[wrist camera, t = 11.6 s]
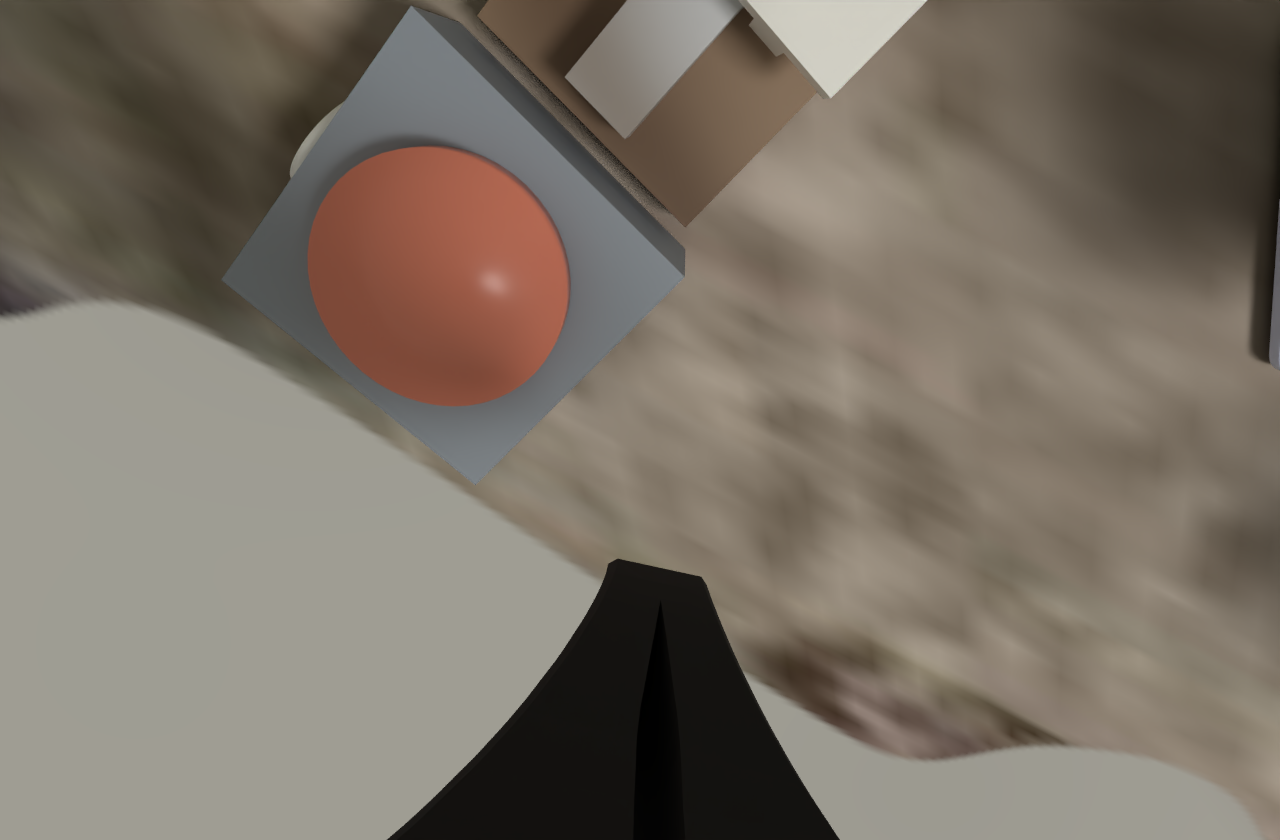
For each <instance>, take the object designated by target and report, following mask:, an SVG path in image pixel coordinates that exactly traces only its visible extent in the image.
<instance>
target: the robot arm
mask: <svg viewBox="0 0 1280 840" xmlns="http://www.w3.org/2000/svg"><path fill="white" fill-rule="evenodd" d="M1269 359H1270V363H1271V364H1272V366H1273V367H1274V368H1276V369H1278V370H1280V201H1279V215H1278V230H1277V245H1276V260H1275V275H1274V290H1273V305H1272V320H1271V334H1270V349H1269ZM387 840H840V839H839V838H838V837H837V835H836V834H835V832H834V830H833V829H832V827H831V826H830V824H829V823H828V821H827V820H826V818H825V817H824V815H823V814H822V812H821V811H820V809H819V808H818V806H817V805H816V803H815V802H814V800H813V799H812V797H811V796H810V794H809V792H808V791H807V789H806V787H805V786H804V784H803V783H802V781H801V779H800V778H799V776H798V774H797V773H796V771H795V769H794V768H793V766H792V764H791V763H790V761H789V759H788V757H787V756H786V754H785V752H784V751H783V748H782V747H781V745H780V743H779V741H778V740H777V738H776V736H775V734H774V733H773V731H772V729H771V727H770V725H769V723H768V721H767V720H766V718H765V716H764V714H763V712H762V710H761V708H760V706H759V704H758V702H757V700H756V698H755V696H754V694H753V692H752V690H751V688H750V686H749V684H748V682H747V680H746V678H745V676H744V674H743V672H742V670H741V668H740V666H739V663H738V661H737V659H736V657H735V655H734V652H733V650H732V648H731V646H730V643H729V641H728V639H727V636H726V634H725V632H724V629H723V627H722V624H721V622H720V619H719V617H718V615H717V612H716V609H715V607H714V604H713V602H712V599H711V596H710V593H709V591H708V588H707V585H706V583H705V582H704V580H703V579H702V577H700V576H695V575H690V574H686V573H681V572H677V571H672V570H667V569H663V568H658V567H653V566H649V565H644V564H640V563H635V562H630V561H626V560H621V559H616V560H614V561H613V562H611V563H609V564H608V567H607V572H606V575H605V578H604V580H603V583H602V585H601V587H600V589H599V592H598V594H597V596H596V598H595V600H594V602H593V603H592V605H591V607H590V608H589V610H588V612H587V614H586V616H585V617H584V619H583V620H582V622H581V624H580V625H579V627H578V628H577V630H576V631H575V633H574V634H573V636H572V637H571V639H570V641H569V642H568V644H567V645H566V647H565V648H564V650H563V651H562V652H561V654H560V655H559V657H558V658H557V660H556V661H555V662H554V663H553V665H552V666H551V668H550V669H549V670H548V671H547V673H546V674H545V675H544V677H543V678H542V679H541V680H540V682H539V683H538V684H537V686H536V687H535V688H534V689H533V691H532V692H531V693H530V695H529V696H528V697H527V699H526V700H525V701H524V702H523V703H522V705H521V706H520V707H519V708H518V710H516V712H515V713H514V714H513V715H512V716H511V718H510V719H509V720H508V721H507V722H506V723H505V724H504V726H503V727H502V728H501V729H500V730H499V731H498V732H497V733H496V734H495V736H494V737H493V738H492V739H491V740H490V741H489V742H488V743H487V744H486V745H485V746H484V748H483V749H482V750H481V751H480V752H479V753H478V754H477V755H476V756H475V757H474V758H473V759H472V760H471V761H470V762H469V763H468V764H467V765H466V766H465V767H464V768H463V769H462V770H461V771H460V772H459V773H458V774H457V775H456V776H455V777H454V778H453V779H452V780H451V781H450V782H449V783H448V784H447V785H446V786H445V787H444V788H443V789H442V790H441V791H440V792H439V793H438V794H437V795H436V796H435V797H434V798H433V799H432V800H431V801H430V802H429V803H428V804H427V805H426V806H424V807H423V808H422V809H421V810H420V811H419V812H418V813H417V814H416V815H415V816H414V817H412V818H411V819H410V820H409V821H408V822H407V823H406V824H405V825H404V826H402V827H401V828H400V829H399V830H398V831H397V832H395V833H394V834H393V835H392V836H391V837H390V838H388V839H387Z"/></svg>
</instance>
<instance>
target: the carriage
mask: <svg viewBox="0 0 1280 840" xmlns="http://www.w3.org/2000/svg"><path fill="white" fill-rule="evenodd" d="M738 1H739V2H740V3H741V4H742V5H743V6H744V8H745V9H746V10H747V11H748V12H749V13H750V15H751V16H752V17H753V18H754V19H753V20H752V21H751V23H750V24H749V26H750V27H751V28H752V30H753V31H754V32H755V33H756V34H757V35H758V37H759V38H760V39H761V40H762V41H763V42H764V43H765V45H766V46H767V47H768V48H769V49H770V50H771V52H772V53H773V54H774V55H775V56H776V57H777V56H779V55H781V54H782V53H784V54H785V55H786V56H787V57H788V59H789V60H790V61H791V62H792V63H793V64H794V66H795V67H796V68H797V69H798V70H799V71H800V73H801V74H802V75H803V76H804V77H805V78H806V80H807V81H808V82H809V83H810V84H811V85H812V86H813V88H814V89H815V90H816V91H817V92H818V93H819V95H820V96H821V97H822V98H823V99H825V98H832V97H833V96H834V95H835V94H836V93H837V92H838V91H839V90H840V89H841V87H842V86H843V85H844V84H845V83H846V82H847V81H848V80H849V79H850V78H851V77H852V76H853V75H854V74H855V73H856V72H857V71H858V70H859V69H860V68H861V67H862V66H863V65H864V64H865V63H866V62H867V61H868V60H869V59H870V58H871V57H872V56H873V55H874V54H875V53H876V52H877V51H878V50H879V49H880V48H881V47H882V46H883V45H884V44H885V43H886V42H887V41H888V40H889V39H890V38H891V37H892V36H893V35H894V34H895V33H896V32H897V31H898V30H899V29H900V28H901V27H902V26H903V25H904V24H905V23H906V22H907V21H908V19H909V18H910V17H911V16H912V15H913V14H914V13H915V12H916V11H917V10H918V9H919V8H920V7H921V6H922V5H923V4H924V3H925V2H926V1H927V0H738Z"/></svg>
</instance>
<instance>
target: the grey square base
mask: <svg viewBox="0 0 1280 840" xmlns="http://www.w3.org/2000/svg"><path fill="white" fill-rule="evenodd" d="M428 145H432V146H448V147H453V148H458V149H463V150H467V151H470V152H472V153H475V154H478V155H481V156H483V157H485V158H487V159H489V160H491V161H494V162H496V163H498V164H499V165H501V166H502V167H504V168H505V169H507V170H508V171H510V172H511V173H513V174H514V175H515V176H516V177H517V178H519V179H520V180H521V181H522V182H523V183H524V184H526V185H527V186H528V187H529V189H530V190H531V191H532V192H533V193H534V194H535V195H536V196H537V197H538V198H539V200H540V201H541V202H542V204H543V205H544V207H545V208H546V209H547V211H548V212H549V214H550V216H551V217H552V219H553V221H554V223H555V225H556V226H557V228H558V231H559V233H560V236H561V238H562V241H563V243H564V246H565V250H566V254H567V258H568V262H569V270H570V277H571V294H570V302H569V309H568V313H567V317H566V320H565V324H564V326H563V329H562V331H561V333H560V335H559V338H558V340H557V342H556V343H555V345H554V347H553V349H552V350H551V352H550V354H549V355H548V357H547V358H546V360H545V362H544V363H543V364H542V365H541V367H540V368H539V369H538V370H537V371H536V372H535V374H534V375H532V376H531V377H530V378H529V379H528V380H527V381H526V382H525V383H523V384H522V385H520V386H519V387H517V388H516V389H514V390H513V391H511V392H510V393H507V394H505V395H503V396H501V397H499V398H497V399H494V400H491V401H488V402H485V403H480V404H474V405H469V406H439V405H433V404H427V403H422V402H419V401H415V400H412V399H409V398H406V397H404V396H401V395H399V394H397V393H395V392H392V391H390V390H389V389H387V388H385V387H383V386H382V385H380V384H378V383H377V382H375V381H374V380H373V379H371V378H370V377H368V376H367V375H366V374H364V373H363V372H362V371H361V370H360V369H359V368H358V367H356V366H355V365H354V364H353V363H352V362H351V361H350V360H349V359H348V358H347V356H346V355H345V354H344V353H343V352H342V351H341V350H340V348H339V347H338V346H337V344H336V343H335V341H334V340H333V339H332V337H331V336H330V334H329V332H328V331H327V329H326V327H325V325H324V323H323V321H322V320H321V317H320V315H319V312H318V310H317V307H316V305H315V302H314V298H313V295H312V291H311V288H310V281H309V275H308V245H309V237H310V233H311V229H312V225H313V221H314V219H315V216H316V214H317V212H318V209H319V207H320V205H321V203H322V202H323V200H324V198H325V197H326V195H327V194H328V192H329V191H330V190H331V188H332V187H333V186H334V185H335V184H336V183H337V181H338V180H339V179H340V178H341V177H343V176H344V175H345V174H346V173H347V172H348V171H350V170H351V169H352V168H354V167H355V166H357V165H358V164H360V163H362V162H363V161H365V160H367V159H369V158H372V157H374V156H376V155H379V154H381V153H385V152H389V151H393V150H397V149H402V148H409V147H417V146H428ZM290 177H291V180H290V181H289V183H288V184H287V186H286V187H285V188H284V190H283V191H282V193H281V194H280V196H279V197H278V199H277V200H276V201H275V203H274V204H273V206H272V207H271V209H270V210H269V212H268V213H267V214H266V216H265V217H264V219H263V220H262V222H261V223H260V224H259V226H258V227H257V229H256V230H255V232H254V233H253V235H252V236H251V237H250V239H249V240H248V242H247V243H246V245H245V246H244V248H243V249H242V250H241V252H240V253H239V255H238V256H237V258H236V259H235V261H234V262H233V263H232V265H231V266H230V268H229V269H228V271H227V272H226V274H225V275H224V276H223V278H222V279H221V280H222V281H223V282H224V283H225V284H227V285H228V286H229V287H230V288H232V289H233V290H234V291H235V292H237V293H238V294H239V295H240V296H242V297H243V298H244V299H245V300H247V301H248V302H249V303H250V304H252V305H253V306H254V307H255V308H256V309H258V310H259V311H260V312H261V313H263V314H264V315H265V316H266V317H268V318H269V319H270V320H271V321H273V322H274V323H275V324H276V325H278V326H279V327H280V328H281V329H283V330H284V331H285V332H286V333H287V334H289V335H290V336H291V337H292V338H294V339H295V340H296V341H297V342H299V343H300V344H301V345H302V346H304V347H305V348H306V349H307V350H309V351H310V352H311V353H312V354H314V355H315V356H316V357H317V358H318V359H320V360H321V361H322V362H323V363H325V364H326V365H327V366H328V367H330V368H331V369H332V370H333V371H335V372H336V373H337V374H338V375H340V376H341V377H342V378H343V379H344V380H346V381H347V382H348V383H349V384H351V385H352V386H353V387H354V388H356V389H357V390H358V391H359V392H361V393H362V394H363V395H364V396H366V397H367V398H368V399H369V400H371V401H372V402H373V403H374V404H375V405H377V406H378V407H379V408H380V409H382V410H383V411H384V412H385V413H387V414H388V415H389V416H390V417H392V418H393V419H394V420H395V421H397V422H398V423H399V424H400V425H402V426H403V427H404V428H405V429H406V430H408V431H409V432H410V433H411V434H413V435H414V436H415V437H416V438H418V439H419V440H420V441H421V442H423V443H424V444H425V445H426V446H428V447H429V448H430V449H431V450H433V451H434V452H435V453H436V454H437V455H439V456H440V457H441V458H442V459H444V460H445V461H446V462H447V463H449V464H450V465H451V466H452V467H454V468H455V469H456V470H457V471H459V472H460V473H461V474H462V475H464V476H465V477H466V478H467V479H468V480H470V481H471V482H472V483H473V484H475V485H476V484H477V483H478V482H479V481H480V480H481V479H482V478H483V477H484V476H485V475H486V474H487V473H488V472H489V471H490V470H491V469H492V468H493V467H494V466H495V465H496V464H497V463H498V462H499V461H500V460H501V459H502V458H503V457H504V456H505V455H506V454H507V453H508V452H509V451H510V450H511V449H512V448H513V447H514V446H515V445H516V444H517V443H518V442H519V441H520V440H521V439H522V438H523V437H524V436H525V435H526V434H527V433H528V432H529V431H530V430H531V429H532V428H533V427H534V426H535V425H536V424H537V423H538V422H539V421H540V420H541V419H542V418H543V417H544V416H545V415H546V414H547V413H548V412H549V411H550V410H551V409H552V408H553V407H554V406H555V405H556V404H557V403H558V402H559V401H560V400H561V399H562V398H563V397H564V396H565V395H566V394H567V393H568V392H569V391H570V390H571V389H572V388H573V387H574V386H575V385H576V384H577V383H578V382H579V381H581V380H582V379H583V378H584V377H585V376H586V375H587V374H588V373H589V372H590V371H591V370H592V369H593V368H594V367H595V366H596V365H597V364H598V363H599V362H600V361H601V360H602V359H603V358H604V357H605V356H606V355H607V354H608V353H609V352H610V351H611V350H612V349H613V348H614V347H615V346H616V345H617V344H618V343H619V342H620V341H621V340H622V339H623V338H624V337H625V336H626V335H627V334H628V333H629V332H630V331H631V330H632V329H633V328H634V327H635V326H636V325H637V324H638V323H639V322H640V321H641V320H642V319H643V318H644V317H645V316H646V315H647V314H648V313H649V312H650V311H651V310H652V309H653V308H654V307H655V306H656V305H657V304H658V303H659V302H660V301H661V300H662V299H663V298H664V297H665V296H666V295H667V294H668V293H669V292H670V291H671V290H672V289H673V288H674V287H675V286H676V285H677V284H678V283H679V282H680V281H681V280H682V279H683V278H684V277H685V248H684V247H683V246H682V245H681V244H680V243H679V242H678V241H677V240H676V239H675V238H674V237H673V236H672V235H671V234H670V233H669V232H668V231H667V230H666V229H665V228H664V227H663V226H662V225H661V224H660V223H659V222H658V221H657V220H656V219H655V218H654V217H653V216H652V215H651V214H650V213H649V212H648V211H647V210H646V209H645V208H644V207H643V206H642V205H641V204H640V203H639V202H638V201H637V200H636V199H635V198H634V197H633V196H632V195H631V194H630V193H629V192H628V191H627V190H626V189H625V188H624V187H623V186H622V185H621V184H620V183H619V182H618V181H617V180H616V179H615V178H614V177H613V176H612V175H611V174H610V173H609V172H608V171H607V170H606V169H605V168H604V167H603V166H602V165H601V164H600V163H599V162H598V161H597V160H596V159H595V158H594V157H593V156H592V155H591V154H590V153H589V152H588V151H587V150H586V149H585V148H584V147H583V146H582V145H581V144H580V143H579V142H578V141H577V140H576V139H575V138H574V137H573V136H572V135H571V134H570V133H569V132H568V131H567V130H566V129H565V128H564V127H563V126H562V125H561V124H560V123H559V122H558V121H557V120H556V119H555V118H554V117H553V116H552V115H551V114H550V113H549V112H548V111H547V110H546V109H545V108H544V107H543V106H542V105H541V104H540V103H539V102H538V101H537V100H536V99H535V98H534V97H533V96H532V95H531V94H530V93H529V92H528V90H527V89H526V88H525V87H524V86H523V85H522V84H521V83H520V82H519V81H518V80H517V79H516V78H515V77H514V76H513V75H512V74H511V73H510V72H509V71H508V70H507V69H506V68H505V67H504V66H503V65H502V64H501V63H500V62H499V61H498V60H497V59H496V58H495V57H494V56H493V55H492V54H491V53H490V52H489V51H488V50H487V49H486V48H485V47H484V46H483V45H482V44H481V43H480V42H479V41H478V40H477V39H476V38H475V37H474V36H473V35H472V34H471V33H470V32H469V31H468V30H467V29H466V28H465V27H464V26H463V25H462V24H461V23H459V22H456V21H453V20H451V19H448V18H445V17H442V16H439V15H436V14H434V13H431V12H428V11H425V10H422V9H419V8H417V7H414V6H411V7H410V8H409V9H408V11H407V12H406V14H405V15H404V17H403V18H402V20H401V21H400V22H399V24H398V25H397V27H396V28H395V30H394V31H393V33H392V34H391V35H390V37H389V38H388V40H387V41H386V43H385V44H384V46H383V47H382V48H381V50H380V51H379V53H378V54H377V56H376V57H375V59H374V60H373V61H372V63H371V64H370V66H369V67H368V69H367V70H366V71H365V73H364V74H363V76H362V77H361V79H360V80H359V82H358V83H357V84H356V86H355V87H354V89H353V90H352V92H351V93H350V95H349V96H348V97H347V99H346V100H345V101H344V102H343V103H341V104H340V105H338V106H337V107H336V108H334V109H333V110H332V111H331V112H330V113H328V114H327V115H326V116H325V117H324V118H323V119H322V120H321V121H320V122H319V123H318V124H317V125H316V126H315V128H314V129H313V130H312V131H311V132H310V134H309V135H308V136H307V137H306V139H305V140H304V142H303V143H302V145H301V146H300V148H299V149H298V151H297V153H296V155H295V157H294V159H293V161H292V164H291V168H290Z"/></svg>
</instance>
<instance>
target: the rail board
mask: <svg viewBox="0 0 1280 840" xmlns="http://www.w3.org/2000/svg"><path fill="white" fill-rule="evenodd" d="M477 16H478V17H479V18H480V19H481V20H482V21H483V22H484V23H485V24H486V25H487V26H488V27H489V28H490V29H491V30H492V31H493V32H494V33H495V34H496V35H497V36H498V37H499V38H500V39H501V40H502V42H503V43H504V44H505V45H506V46H507V47H508V48H509V49H510V50H511V51H512V52H513V53H514V54H515V55H516V56H517V57H518V58H519V59H520V60H521V61H522V62H523V63H524V64H525V65H526V66H527V67H528V68H529V69H530V70H531V71H532V72H533V73H534V74H535V75H536V76H537V77H538V78H539V79H540V80H541V81H542V82H543V83H544V84H545V85H546V86H547V87H548V88H549V89H550V90H551V91H552V92H553V93H554V94H555V95H556V96H557V97H558V98H559V99H560V100H561V102H562V103H563V104H564V105H565V106H566V107H567V108H568V109H569V110H570V111H571V112H572V113H573V114H574V115H575V116H576V117H577V118H578V119H579V120H580V121H581V122H582V123H583V124H584V125H585V126H586V127H587V128H588V129H589V130H590V131H591V132H592V133H593V134H594V135H595V136H596V137H597V138H598V139H599V140H600V141H601V142H602V143H603V144H604V145H605V146H606V147H607V148H608V149H609V150H610V151H611V152H612V153H613V154H614V155H615V156H616V157H617V158H618V159H619V161H620V162H621V163H622V164H623V165H624V166H625V167H626V168H627V169H628V170H629V171H630V172H631V173H632V174H633V175H634V176H635V177H636V178H637V179H638V180H639V181H640V182H641V183H642V184H643V185H644V186H645V187H646V188H647V189H648V190H649V191H650V192H651V193H652V194H653V195H654V196H655V197H656V198H657V199H658V200H659V201H660V202H661V203H662V204H663V205H664V206H665V207H666V208H667V209H668V210H669V211H670V212H671V213H672V214H673V215H674V216H675V217H676V218H677V219H678V221H679V222H680V223H681V224H682V225H683V226H684V227H686V226H687V225H688V224H689V223H690V222H691V221H692V220H693V219H694V218H695V217H696V216H697V215H698V214H699V213H700V212H701V211H702V210H703V209H704V208H705V207H706V206H707V205H708V204H709V202H710V201H711V200H712V199H713V198H714V197H715V196H716V195H717V194H718V193H719V192H720V191H721V190H722V189H723V188H724V187H725V186H726V185H727V184H728V183H729V182H730V181H731V180H732V179H733V178H734V177H735V176H736V175H737V174H738V173H739V172H740V171H741V170H742V169H743V168H744V167H745V165H746V164H747V163H748V162H749V161H750V160H751V159H752V158H753V157H754V156H755V155H756V154H757V153H758V152H759V151H760V150H761V149H762V148H763V147H764V146H765V145H766V144H767V143H768V142H769V141H770V140H771V139H772V138H773V137H774V136H775V135H776V134H777V133H778V132H779V131H780V130H781V129H782V127H783V126H784V125H785V124H786V123H787V122H788V121H789V120H790V119H791V118H792V117H793V116H794V115H795V114H796V113H797V112H798V111H799V110H800V109H801V108H802V107H803V106H804V105H805V104H806V103H807V102H808V101H809V100H810V99H811V98H812V97H813V96H814V95H815V94H816V93H817V91H816V90H815V89H814V88H813V86H812V85H811V84H810V83H809V82H808V81H807V80H806V78H805V77H804V76H803V75H802V74H801V73H800V71H799V70H798V69H797V68H796V67H795V66H794V64H793V63H792V62H791V61H790V60H789V59H788V57H787V56H786V55H785V54H784V53H782V54H781V55H779V56H777V57H776V56H775V55H774V54H773V53H772V52H771V50H770V49H769V48H768V47H767V46H766V45H765V43H764V42H763V41H762V40H761V39H760V38H759V37H758V35H757V34H756V33H755V32H754V31H753V30H752V28H751V27H750V26H749V24H750V23H751V21H752V20H753V19H754V18H753V17H752V16H751V15H750V13H749V12H748V11H747V10H746V9H745V8H744V6H743V5H742V4H741V3H740V2H739V1H738V0H488V2H487V3H486V4H485V6H484V7H483V8H482V10H481V11H480V12H479V14H478V15H477Z"/></svg>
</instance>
